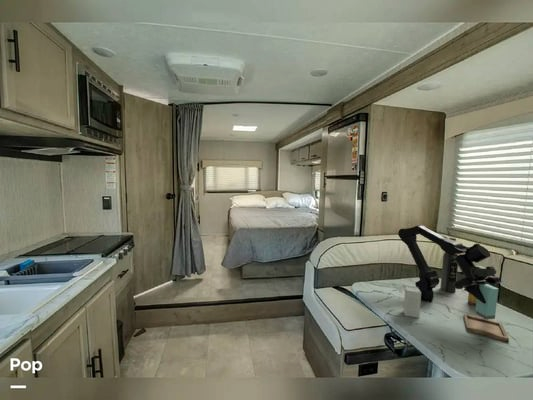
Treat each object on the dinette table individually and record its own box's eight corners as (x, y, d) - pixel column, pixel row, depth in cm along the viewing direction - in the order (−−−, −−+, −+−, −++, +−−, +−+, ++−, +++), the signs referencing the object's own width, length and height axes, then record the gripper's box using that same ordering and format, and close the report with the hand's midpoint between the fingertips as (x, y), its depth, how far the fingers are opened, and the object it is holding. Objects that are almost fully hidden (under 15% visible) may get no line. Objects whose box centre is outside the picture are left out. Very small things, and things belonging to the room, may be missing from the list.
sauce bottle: (464, 301, 134) (468, 264, 132) (475, 301, 134) (479, 264, 132) (475, 308, 127) (480, 269, 125) (487, 307, 128) (491, 268, 126)
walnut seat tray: (466, 331, 108) (467, 327, 108) (463, 317, 119) (463, 313, 119) (508, 342, 101) (509, 338, 101) (500, 326, 112) (501, 322, 112)
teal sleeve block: (485, 319, 106) (489, 289, 105) (475, 313, 111) (478, 284, 109) (494, 318, 107) (498, 288, 106) (483, 312, 111) (487, 284, 110)
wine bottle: (456, 292, 144) (461, 239, 141) (446, 292, 144) (451, 239, 141) (449, 288, 150) (454, 237, 147) (439, 287, 150) (444, 237, 147)
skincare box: (417, 313, 121) (419, 288, 120) (419, 318, 117) (421, 292, 116) (402, 311, 123) (404, 286, 122) (404, 315, 119) (406, 290, 118)
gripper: (463, 260, 109) (487, 297, 99) (499, 258, 112) (525, 294, 102) (445, 271, 117) (465, 306, 107) (479, 269, 121) (502, 303, 111)
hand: (490, 302), depth 107 cm, fingers closed on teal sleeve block, 4 cm apart
